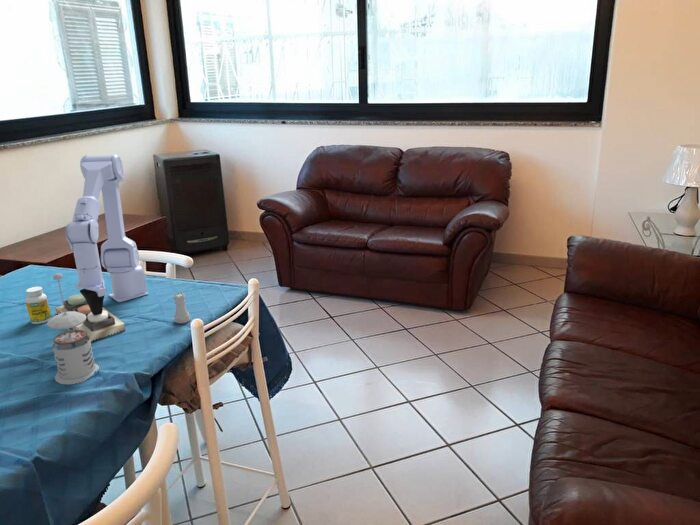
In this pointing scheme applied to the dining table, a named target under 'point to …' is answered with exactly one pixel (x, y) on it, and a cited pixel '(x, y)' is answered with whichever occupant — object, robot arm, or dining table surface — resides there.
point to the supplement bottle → (37, 305)
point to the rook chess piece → (181, 309)
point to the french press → (77, 359)
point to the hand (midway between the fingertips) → (97, 313)
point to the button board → (98, 328)
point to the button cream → (97, 317)
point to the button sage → (76, 300)
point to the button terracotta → (84, 309)
